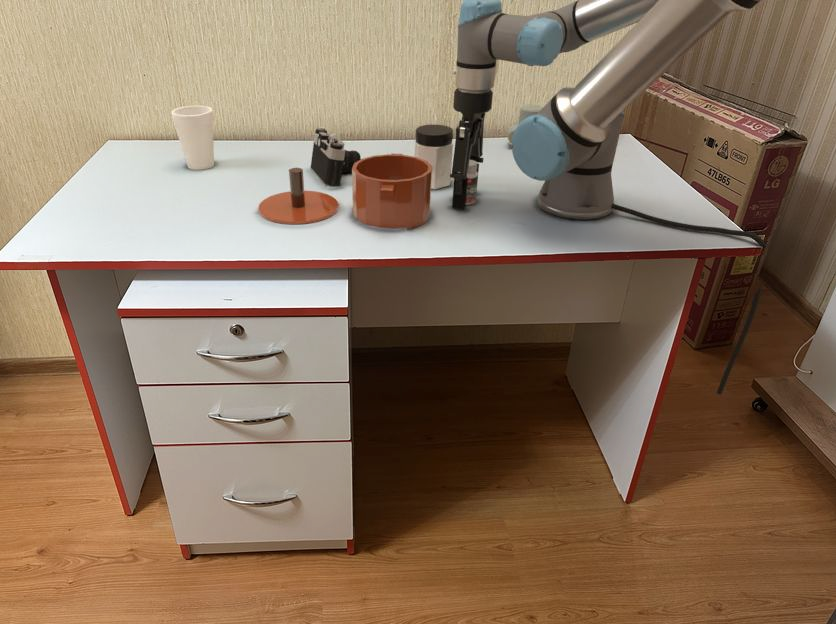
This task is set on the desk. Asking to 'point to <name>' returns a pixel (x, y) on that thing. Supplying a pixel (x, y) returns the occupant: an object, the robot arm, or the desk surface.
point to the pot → (392, 191)
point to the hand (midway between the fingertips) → (464, 199)
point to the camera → (331, 158)
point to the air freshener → (523, 117)
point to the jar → (436, 152)
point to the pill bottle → (472, 182)
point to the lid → (298, 203)
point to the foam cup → (195, 135)
